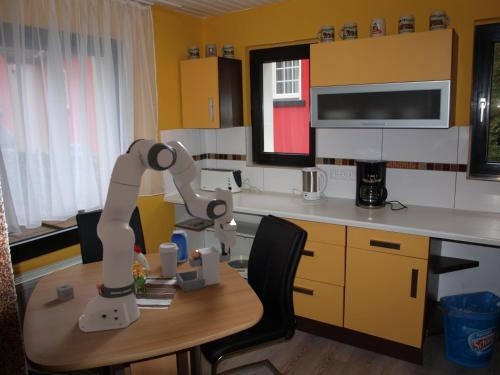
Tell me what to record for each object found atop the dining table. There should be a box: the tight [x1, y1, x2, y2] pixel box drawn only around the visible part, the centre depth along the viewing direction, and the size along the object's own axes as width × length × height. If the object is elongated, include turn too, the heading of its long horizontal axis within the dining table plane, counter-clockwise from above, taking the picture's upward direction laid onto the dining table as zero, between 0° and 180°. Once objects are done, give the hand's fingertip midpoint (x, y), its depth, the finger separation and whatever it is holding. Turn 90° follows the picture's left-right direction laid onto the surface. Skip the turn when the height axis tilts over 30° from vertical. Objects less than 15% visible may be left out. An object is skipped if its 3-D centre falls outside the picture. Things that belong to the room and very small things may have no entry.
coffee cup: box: [157, 242, 178, 278], centre depth 204 cm, size 10×10×15 cm
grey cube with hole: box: [55, 283, 75, 303], centre depth 181 cm, size 5×5×5 cm
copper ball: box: [190, 249, 200, 259], centre depth 192 cm, size 4×4×4 cm
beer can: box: [170, 229, 189, 264], centre depth 224 cm, size 8×8×16 cm
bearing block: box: [196, 246, 221, 286], centre depth 196 cm, size 8×8×15 cm
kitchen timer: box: [133, 244, 151, 273], centre depth 207 cm, size 14×14×15 cm
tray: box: [175, 269, 206, 293], centre depth 193 cm, size 10×13×4 cm
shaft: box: [188, 242, 231, 268], centre depth 195 cm, size 18×4×8 cm, turn 114°
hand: (224, 250), depth 198 cm, fingers closed on shaft, 3 cm apart
